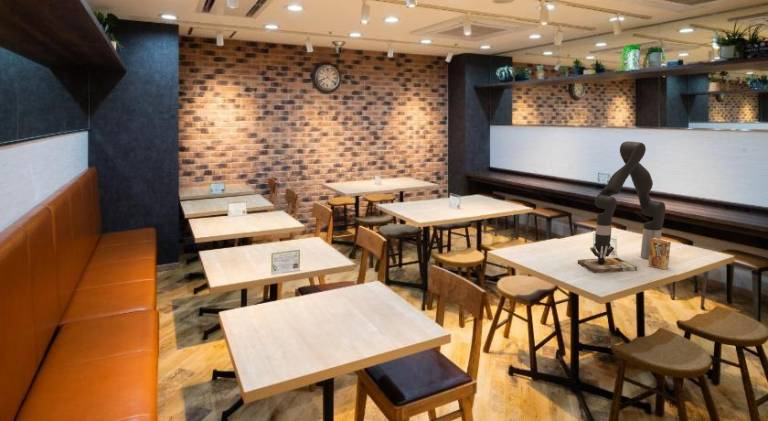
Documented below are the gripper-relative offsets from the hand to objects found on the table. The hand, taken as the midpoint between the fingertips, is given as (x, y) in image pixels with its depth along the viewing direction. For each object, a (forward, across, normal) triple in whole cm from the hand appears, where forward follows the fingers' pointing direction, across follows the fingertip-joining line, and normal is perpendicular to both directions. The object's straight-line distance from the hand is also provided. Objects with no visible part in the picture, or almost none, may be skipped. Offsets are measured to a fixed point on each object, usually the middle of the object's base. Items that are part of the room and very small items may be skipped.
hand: (600, 264), depth 259 cm
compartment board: (+3, -6, -3) cm, 7 cm away
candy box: (+3, -32, +2) cm, 33 cm away
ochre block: (+1, -5, 0) cm, 5 cm away
